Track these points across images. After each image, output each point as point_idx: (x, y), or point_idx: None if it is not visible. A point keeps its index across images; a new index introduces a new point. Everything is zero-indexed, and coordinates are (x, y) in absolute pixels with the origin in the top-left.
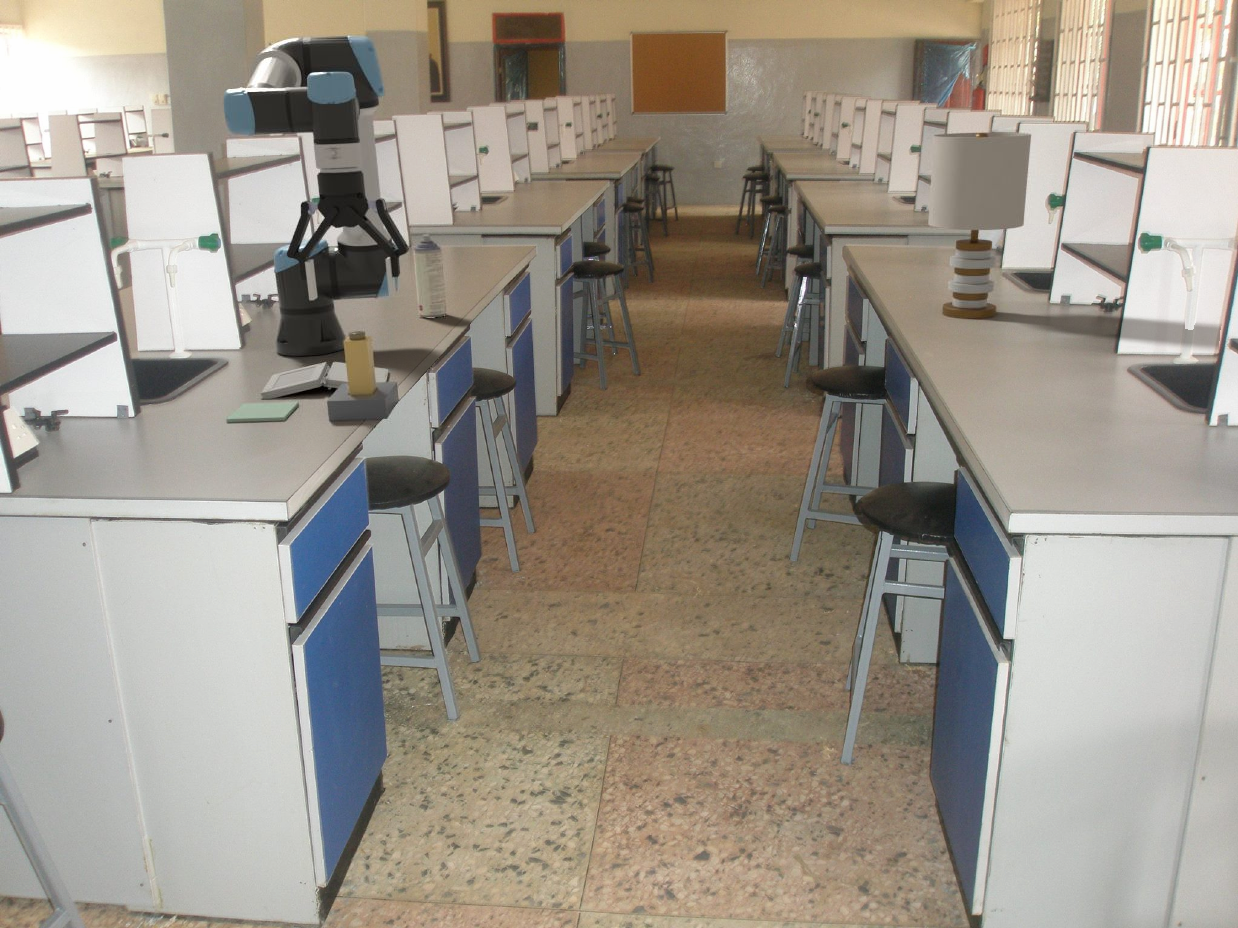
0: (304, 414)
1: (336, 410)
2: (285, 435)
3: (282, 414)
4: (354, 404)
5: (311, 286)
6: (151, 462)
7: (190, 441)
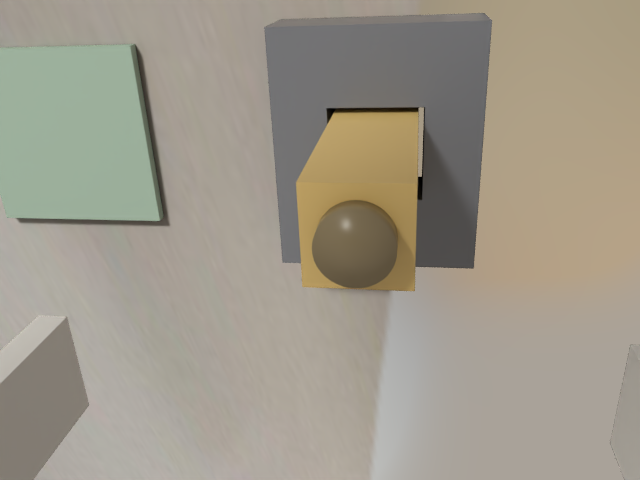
0: (196, 158)
1: None
2: (220, 341)
3: (143, 192)
4: None
5: (33, 473)
6: None
7: None
